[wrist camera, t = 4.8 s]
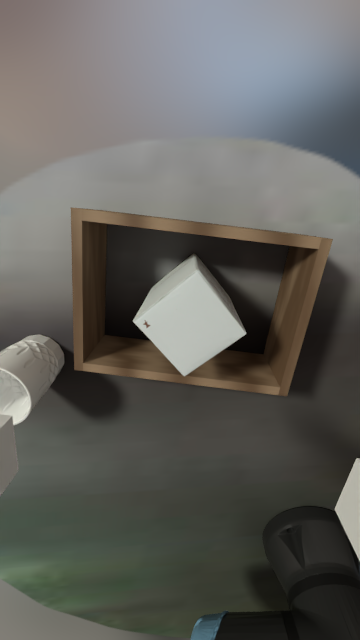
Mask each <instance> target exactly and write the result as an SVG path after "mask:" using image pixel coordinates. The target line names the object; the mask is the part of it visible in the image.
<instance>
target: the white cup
mask: <svg viewBox="0 0 360 640" xmlns="http://www.w3.org/2000/svg"><path fill="white" fill-rule="evenodd" d="M63 365H64V353H63V351H62V349H61V348H60V346H59V344H57V343H56V342H55V341H54V340H52V339H51V338H49V337H46V336H43V335H31V336H28V337H26V338H25V339H23V340H22V341H20V342H18V343H16V344H13V345H11V346H10V347H8V348H6V349H4V350H2V351H1V352H0V414H2V415H11V416H12V418H13V425H16V424H18V423H20V422H22V421H23V420H25V419H26V418H27V416H28V415H29V414H30V412H31V411H32V410H33V408H34V407H35V406H36V404H37V403H38V402H39V401H40V399H41V398H42V397H43V395H44V394H45V393H46V391H47V390H48V389H49V387H50V386H51V384H52V383H53V381H54V380H55V378H56V376H57V375H58V374H59V372H60V371H61V369H62V367H63Z"/></svg>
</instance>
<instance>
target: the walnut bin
mask: <svg viewBox="0 0 360 640" xmlns="http://www.w3.org/2000/svg"><path fill="white" fill-rule="evenodd" d="M107 224H115V225H123V226H131V227H139V228H148V229H156V230H164V231H172V232H181V233H189V234H197V235H205V236H214V237H222V238H230V239H239V240H247V241H255V242H263V243H272V244H280V245H288V246H290V247H289V251H288V255H287V259H286V263H285V267H284V272H283V276H282V280H281V284H280V288H279V292H278V296H277V300H276V305H275V309H274V313H273V317H272V321H271V325H270V329H269V333H268V338H267V342H266V346H265V350H264V354H256V353H248V352H240V351H232V350H223V351H221V352H220V353H218V354H217V355H215V356H214V357H213V358H211V359H210V360H208V361H207V362H205V363H204V364H202V365H201V366H199V367H198V368H196V369H195V370H193V371H192V372H191V373H189V374H188V375H186V376H183V375H182V374H181V373H180V372H179V371H178V370H177V369H176V367H175V366H174V365H173V364H172V363H171V362H170V361H169V360H168V359H167V358H166V357H165V355H164V354H163V353H162V352H161V351H160V350H159V349H158V348H157V347H156V346H155V344H154V343H153V342H152V341H151V340H142V339H134V338H126V337H118V336H110V335H105V297H106V250H107ZM71 234H72V283H73V331H74V370H80V371H88V372H96V373H104V374H112V375H120V376H128V377H136V378H144V379H152V380H160V381H168V382H176V383H185V384H193V385H201V386H209V387H217V388H225V389H233V390H241V391H249V392H257V393H265V394H273V395H281V396H287V395H288V391H289V388H290V384H291V381H292V377H293V374H294V371H295V367H296V364H297V360H298V357H299V353H300V350H301V347H302V343H303V340H304V336H305V333H306V329H307V326H308V323H309V319H310V316H311V312H312V309H313V305H314V302H315V299H316V295H317V292H318V288H319V285H320V281H321V278H322V275H323V271H324V268H325V264H326V261H327V258H328V254H329V251H330V247H331V244H332V240H333V239H328V238H321V237H315V236H308V235H301V234H293V233H285V232H277V231H268V230H260V229H252V228H244V227H235V226H227V225H219V224H210V223H202V222H194V221H186V220H177V219H169V218H161V217H152V216H144V215H136V214H128V213H119V212H111V211H103V210H93V209H81V208H71Z"/></svg>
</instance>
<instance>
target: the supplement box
mask: <svg viewBox="0 0 360 640" xmlns="http://www.w3.org/2000/svg"><path fill="white" fill-rule="evenodd" d="M133 322H134V323H135V324H136V325H137V326H138V328H139V329H140V330H141V331H142V332H143V333H144V334H145V335H146V336H147V337H148V338H149V339H150V340H151V341H152V342H153V343H154V344H155V346H156V347H157V348H158V349H159V350H160V351H161V352H162V353H163V354H164V355H165V357H166V358H167V359H168V360H169V361H170V362H171V363H172V364H173V365H174V366H175V367H176V369H177V370H178V371H179V372H180V373H181V374H182V375H183V376H186V375H188V374H189V373H191V372H192V371H193V370H195V369H196V368H198V367H199V366H201V365H202V364H204V363H205V362H207V361H208V360H210V359H211V358H213V357H214V356H215V355H217V354H218V353H220V352H221V351H223V350H224V349H226V348H227V347H228V346H230V345H231V344H233V343H234V342H236V341H237V340H239V339H240V338H241V337H243V336H244V335H246V331H245V329H244V327H243V325H242V322H241V320H240V318H239V316H238V314H237V312H236V310H235V308H234V306H233V303H232V301H231V299H230V297H229V295H228V294H227V293H226V292H225V290H224V289H223V288H222V287H221V285H220V284H219V283H218V281H217V280H216V279H215V278H214V276H213V275H212V274H211V272H210V271H209V270H208V269H207V267H206V266H205V265H204V264H203V262H202V261H201V260H200V259H199V257H198V256H197V255H196V254H195V253H194V254H192V255H191V256H190V257H188V258H187V259H186V260H184V261H183V262H182V263H181V264H179V265H178V266H177V267H176V268H174V269H173V270H172V271H171V272H170V273H168V274H167V275H166V276H165V277H164V278H162V279H161V280H160V281H159V282H158V283H156V284H155V285H154V286H153V287H152V288H151V290H150V292H149V293H148V295H147V297H146V299H145V300H144V302H143V304H142V306H141V307H140V309H139V311H138V313H137V314H136V316H135V318H134V320H133Z"/></svg>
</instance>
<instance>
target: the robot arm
mask: <svg viewBox="0 0 360 640" xmlns="http://www.w3.org/2000/svg"><path fill="white" fill-rule="evenodd" d="M18 470H19V468H18V460H17V451H16V443H15V434H14V426H13V418H12V416H11V415H2V414H0V496H1V495H2V493H3V492H4V490H5V489H6V487H7V486H8V485H9V483H10V482H11V480H12V479H13V477H14V476H15V475H16V473H17V472H18ZM335 511H336V513H335V512H333V511H331V510H328V509H324V508H320V507H299V508H294V509H290V510H287V511H285V512H283V513H281V514H279V515H277V516H276V517H274V518H273V519H272V520H271V521H270V522H269V523H268V524H267V525H266V527H265V529H264V532H263V544H264V548H265V553H266V556H267V559H268V561H269V562H270V565H271V566H272V568H273V570H274V572H275V574H276V576H277V578H278V580H279V582H280V584H281V586H282V588H283V590H284V592H285V594H286V597H287V601H288V605H289V609H290V611H264V612H228V611H224V612H222V613H218V614H209V615H204V616H202V617H200V618H199V619H198V621H197V622H196V624H195V626H194V629H193V632H192V636H191V640H360V564H359V561H360V458H356V461H355V463H354V465H353V468H352V470H351V472H350V475H349V477H348V479H347V482H346V484H345V486H344V488H343V491H342V493H341V495H340V498H339V500H338V502H337V505H336V507H335Z"/></svg>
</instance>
